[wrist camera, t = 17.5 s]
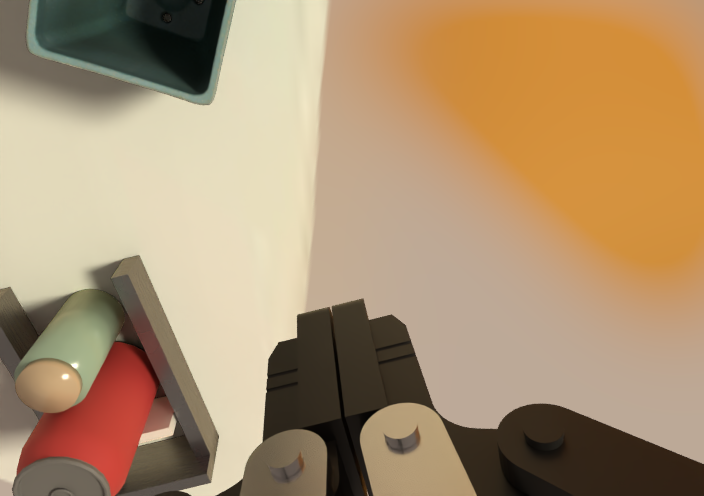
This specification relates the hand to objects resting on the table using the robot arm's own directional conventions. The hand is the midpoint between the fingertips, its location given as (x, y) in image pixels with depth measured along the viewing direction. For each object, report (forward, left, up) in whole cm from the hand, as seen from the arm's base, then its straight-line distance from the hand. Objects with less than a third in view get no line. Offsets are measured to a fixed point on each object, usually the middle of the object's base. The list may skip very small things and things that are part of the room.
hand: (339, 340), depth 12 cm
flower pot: (-9, -6, -27) cm, 29 cm away
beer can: (+16, -20, -27) cm, 37 cm away
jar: (+11, -20, -27) cm, 35 cm away
